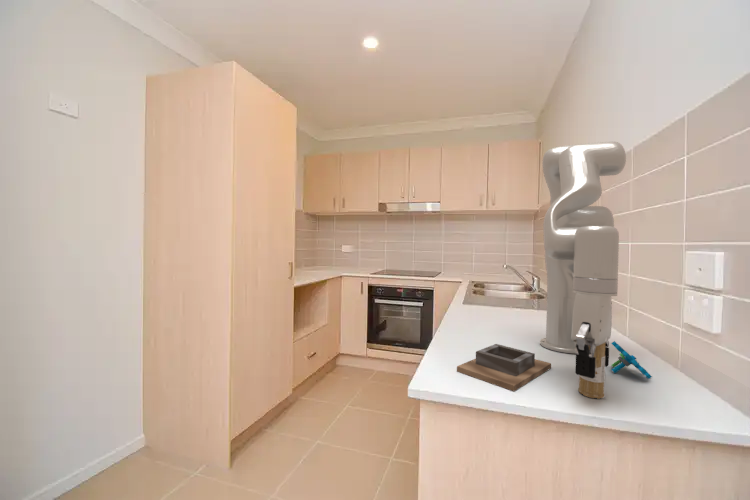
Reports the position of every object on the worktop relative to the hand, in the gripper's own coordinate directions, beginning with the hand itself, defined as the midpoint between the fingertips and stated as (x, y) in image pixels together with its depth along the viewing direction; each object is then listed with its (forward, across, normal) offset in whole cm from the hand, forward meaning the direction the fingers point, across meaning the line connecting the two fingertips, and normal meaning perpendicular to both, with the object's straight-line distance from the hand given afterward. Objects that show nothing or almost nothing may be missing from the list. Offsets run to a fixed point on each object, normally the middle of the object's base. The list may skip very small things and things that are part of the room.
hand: (592, 370), depth 67 cm
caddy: (+5, +1, -18) cm, 19 cm away
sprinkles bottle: (+5, 0, 0) cm, 5 cm away
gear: (+5, -20, +2) cm, 21 cm away
